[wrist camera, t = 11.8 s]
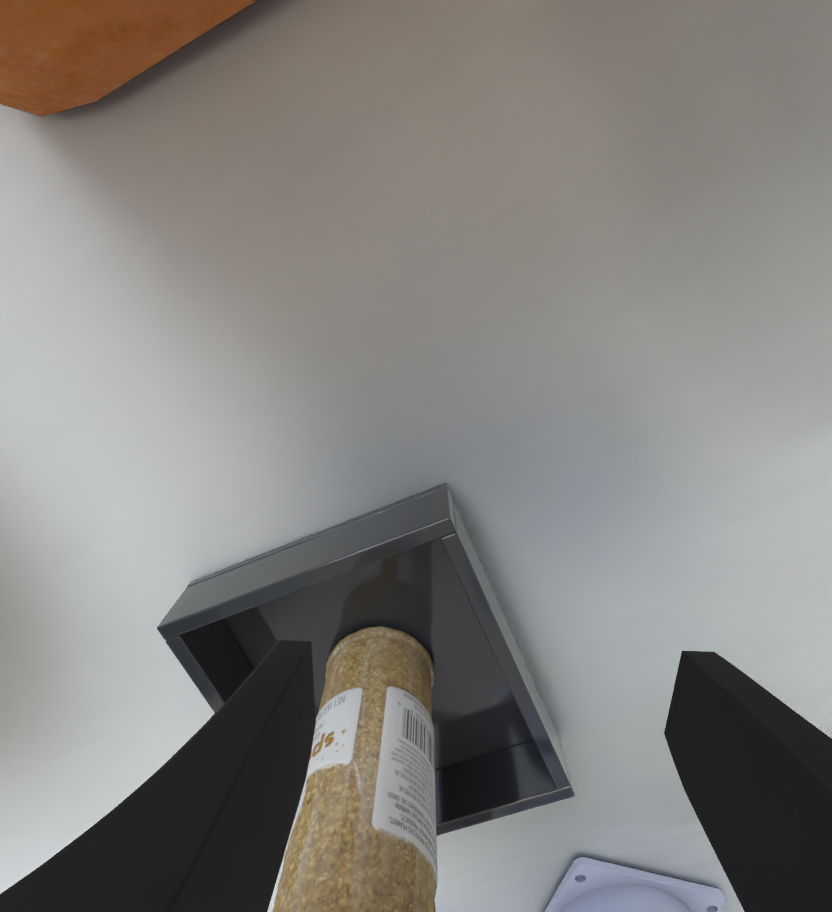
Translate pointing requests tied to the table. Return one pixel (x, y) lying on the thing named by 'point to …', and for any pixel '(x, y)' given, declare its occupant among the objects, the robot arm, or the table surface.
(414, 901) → the sprinkles bottle
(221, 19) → the bread
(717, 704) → the robot arm
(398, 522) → the dark gray square tray
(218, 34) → the table surface
